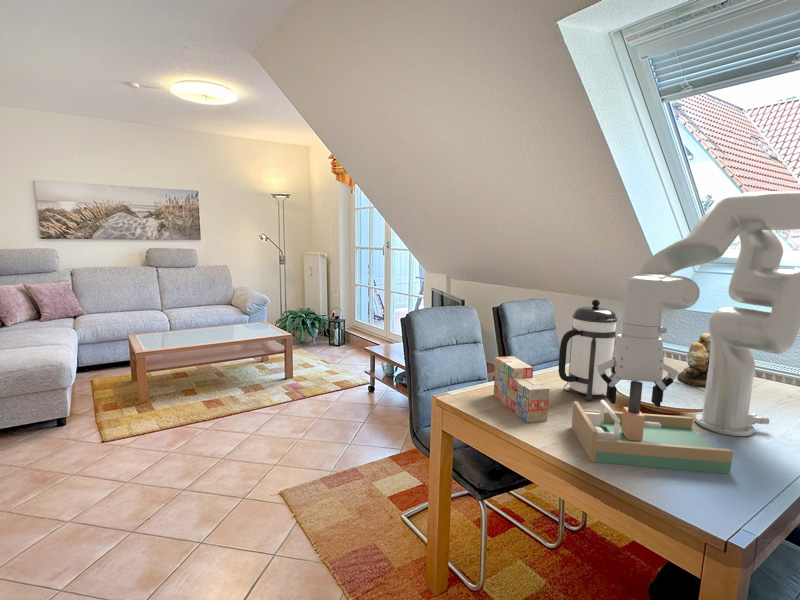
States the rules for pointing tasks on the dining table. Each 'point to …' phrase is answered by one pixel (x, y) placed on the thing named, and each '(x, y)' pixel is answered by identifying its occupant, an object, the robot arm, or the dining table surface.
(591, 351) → the coffee press
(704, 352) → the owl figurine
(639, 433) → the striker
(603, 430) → the ball
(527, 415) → the stack of blocks
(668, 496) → the dining table surface
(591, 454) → the pitch
